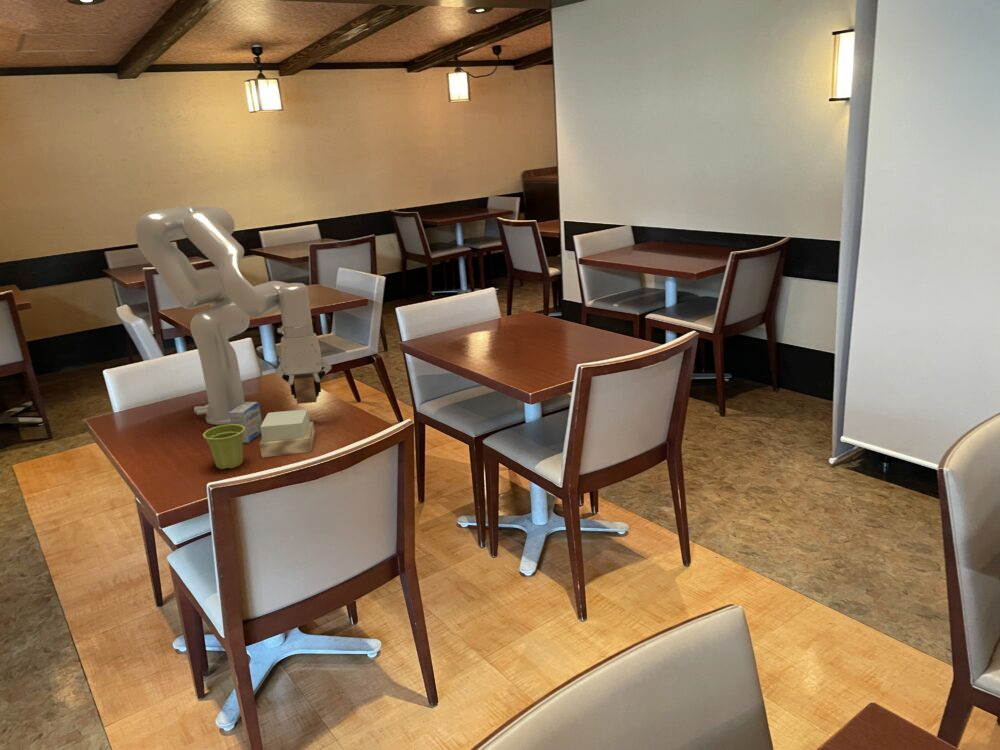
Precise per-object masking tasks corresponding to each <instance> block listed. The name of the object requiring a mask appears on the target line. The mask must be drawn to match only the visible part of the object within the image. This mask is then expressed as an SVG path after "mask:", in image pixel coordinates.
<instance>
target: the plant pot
mask: <svg viewBox="0 0 1000 750" xmlns="http://www.w3.org/2000/svg"><path fill="white" fill-rule="evenodd" d="M244 430H245V427H244V426H242V425H238V424H224V425H216V426H215V427H214V426H213V427H211V428H209V429H206V431H205V432H204V433H203V434H202V436H203V438H204V439H205V440H206V443H207V444H208V446H209V449H210V452H211V454H212V457H213V460H214V463H215V466H216V468H217V469H220V470H226V469H234V468H237V467H239V466H241V465H242V464H243V462H244V452H243V449H244V448H243V446H244V445H243V444H244V443H243V432H244Z"/></svg>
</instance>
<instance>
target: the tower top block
mask: <svg viewBox="0 0 1000 750" xmlns="http://www.w3.org/2000/svg"><path fill="white" fill-rule="evenodd" d="M310 422H311V421H310V416H309V409H307V408H305V409H295V410H293V409H292V410H285V411H284V410H283V411H274V412H273V411H271V412H267V414H266V416H265V417H264V419H263V420H262V425H261V427H260V428H261V434H260V435H261V439H262V440H263V442H269V441H280V440H290V439H301V438H304V437H305V434H306V432H307V429H308V427H309V424H310Z"/></svg>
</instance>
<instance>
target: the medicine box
mask: <svg viewBox="0 0 1000 750" xmlns="http://www.w3.org/2000/svg"><path fill="white" fill-rule="evenodd" d="M229 418H230V423H231V424H238V425H242V426H244V427H245V430H244V432H243V444H249V443H252V442H253V441H254V440H255V439H256V438H258V437H259V436H260V435H262V434H261V428H260V427H261V425H262V423H263V420H262V419H263V418H262V413H261V408H260V403H259V402H258V401H245V402H244V403H243V404H241V405H240V406H238V407H237V408H235V409H234V410H232V411H231V412H229Z"/></svg>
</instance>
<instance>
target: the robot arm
mask: <svg viewBox="0 0 1000 750" xmlns="http://www.w3.org/2000/svg"><path fill="white" fill-rule="evenodd" d="M233 218H234V217H232V215H231V213H229V212H228V211H227V210H225V209H223V208H221V207H217V206H215V207H214V206H193V205H192V206H188V205H186V206H178V207H177V206H175V207H170V208H164V209H163V208H161V209H156V210H152V211H149V212H147V213H145V214H143V215H141V216H140V217H139V218H138V220H137V222H136V223H135V230H134V235H135V236H134V237H135V241H136V244H137V247H138V249H139V250H140V251H141V253H142V254H143V256H144V257H145V258H146V259H147V261H148V262H149V263H150V264H151V266H152V267H154V269H155V270H156V272H157V273H158V274H159V276H160V278H161V279H162V281H163V282H164V285H166V287H167V289H168V290H169V291H170V293H171V294H172V297H174V299H175V301H176V302H177V303H178V304H179V305H180V306H181V307H182V308H183V309H186V310H194V309H198V308H201V307H204V306H208V305H210V307H208V308H205V309H202V310H200V311H199V312H197V313H196V314H195V315H194V316H193V317H192V319H191V320H190V324H189V325H190V327H189V328H190V329H189V330H190V333H191V335H192V338H193V341H194V344H195V345H196V350H197V351H198V356H199V359H200V364H201V365H200V366H201V370H202V374H203V380H204V381H203V382H204V384H205V390H206V391H205V392H206V395H207V401H208V403H207V404H205V405H198V406H193V409H194V414H196V415H197V416H199V415H206V416H205V420H206V423H208V424H210V425H215V426H221V425H228V424H231V423H230V418H229V412H231V411H232V410H234V409H235V408H237V407H238V406H240V405H241V404H243V403H244V402H246V400H245V394H244V388H243V383H242V378H241V377H242V376H241V372H240V366H239V360H238V355H237V353H236V351H235V349H234V347H233V345H232V344H231V343H230V341H229V339H231V338H233V337H235V336H238V335H240V334H242V333H244V332H245V331H246V330H247V329H248V328H249V326H250V322H251V321H250V320H251V318H250V316H251V317H261V316H263V315H266V314H268V313H272V312H274V311H277V310H280V317H281V324H282V326H281V327H277V333H278V334H282V335H283V336H282V337H281V339H280V356H281V363H280V364H279V365H278V366H277V369H275V372H274V374H275V375H276V376H277V377H279V378H282V379H283V380H284V382H287V383H288V384H289V386H290V393H291V396H293V398H294V399H295V400H296V392H295V385H294V376H295V375H299V374H310V373H312V374H313V376H314V378H315V382H314V385H315V393H316V397H317V398H318V397H319V396H320V393H322V388H321V380H322V379H324V377H325V375H326V374H327V373H329V372H330V371H331V370H332V365H331V364H330V363H329V362H327V360H325V359H324V358H323V357H322V353H321V352H322V351H321V347H320V343H319V339H318V337H317V333H315V332H314V327H313V321H312V313H311V312H312V311H311V305H310V304H311V302H310V297H309V295H310V294H309V289H308V286H307V285H306V284H304V283H301V282H291V283H287V282H284V281H280V280H271V281H267V282H263V283H259V284H256V285H254V286H253V285H252V284H251V283H250V282H249V281H248V280H247V278H245V277H244V275H243V274H242V273H241V271H240V269H239V264H240V262H241V261H242V259H243V257H244V255H245V249H244V247H243V245H241V244H240V243H239V242H238V240H237V239H235V238H234V236H232V234H233V233H234V232H235V221H234V219H233ZM183 239H188V240H189V241H191V243H192V244H193V245H194V246H195V247H196V248H197V249H198V250H199V251H200V252H201V253H202V254H203V255H204V256H205V257H206V258H207V259H208V260H209V261H210V262H211V263H212V264H213V265H214V266H215V267H216V268H217V269H213V268H205V269H200V270H197V269H196V268H195V266H193V265H192V263H191V262H190V260H189V257H188V256H186V255H185V253H184V252H182V251H181V250H180V249H179V248H178V247H176V246H174V245H173V244H171V242H173V241H177V240H183ZM322 368H323V369H322Z"/></svg>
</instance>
